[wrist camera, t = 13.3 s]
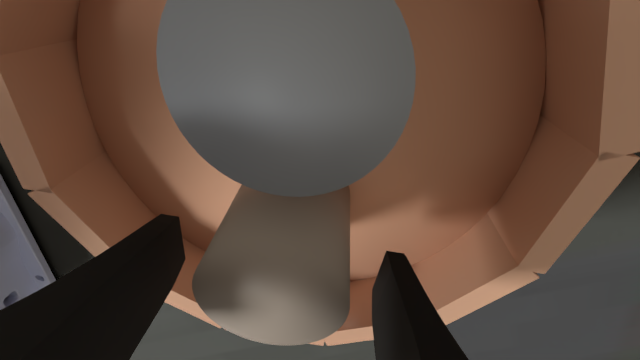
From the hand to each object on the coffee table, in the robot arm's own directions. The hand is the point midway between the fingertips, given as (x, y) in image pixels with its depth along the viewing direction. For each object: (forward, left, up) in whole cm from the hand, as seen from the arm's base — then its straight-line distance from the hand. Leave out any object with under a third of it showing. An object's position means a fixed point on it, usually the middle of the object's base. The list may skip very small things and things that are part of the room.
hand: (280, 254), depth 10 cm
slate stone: (+6, 0, -3) cm, 7 cm away
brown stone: (0, 0, -3) cm, 3 cm away
